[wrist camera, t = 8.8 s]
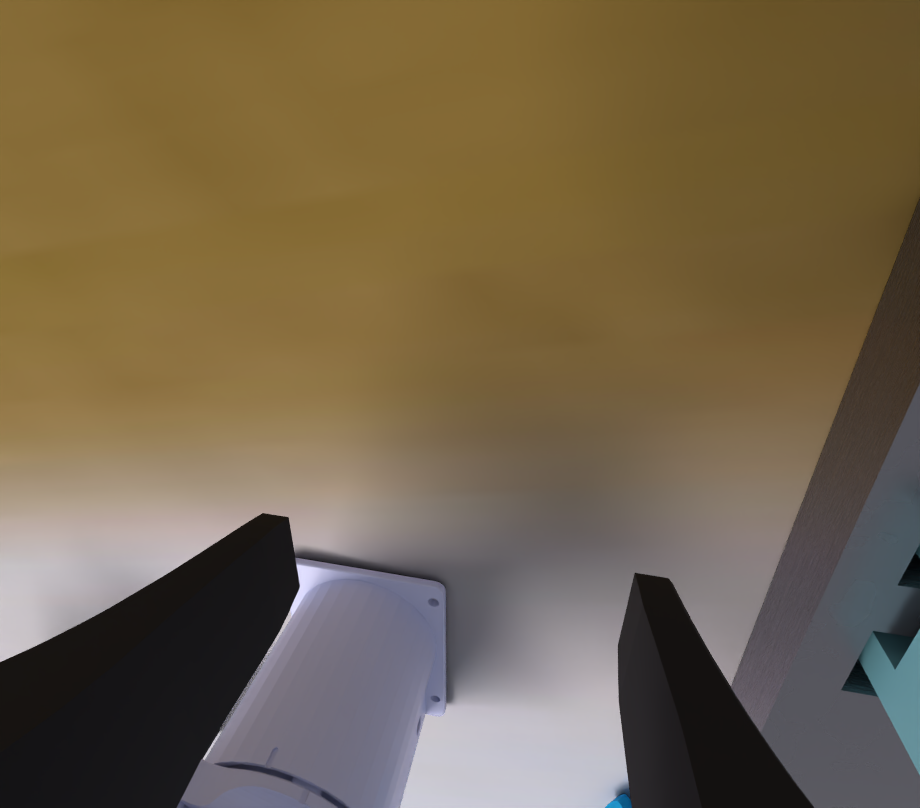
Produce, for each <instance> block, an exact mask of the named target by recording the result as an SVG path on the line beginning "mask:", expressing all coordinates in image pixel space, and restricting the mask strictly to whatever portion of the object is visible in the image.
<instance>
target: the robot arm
mask: <svg viewBox="0 0 920 808" xmlns="http://www.w3.org/2000/svg"><path fill="white" fill-rule="evenodd" d="M434 599H436V600H434ZM290 610H291V615H292V617H291V619H290V621H289V622H288V624H287V626H286V627H285V629H284V631H283V632H282V634H281V636H280V637H279V639H278V640H277V642H276V644H275V645H274V647H273V649H272V650H271V652H270V654H269V655H268V657H267V659H266V660H265V662H264V664H263V665H262V667H261V668H260V670H259V672H258V673H257V675H256V677H255V678H254V680H253V682H252V683H251V685H250V687H249V688H248V690H247V692H246V693H245V695H244V697H243V698H242V700H241V701H240V703H239V705H238V706H237V708H236V710H235V711H234V713H233V715H232V716H231V718H230V720H229V721H228V723H227V725H226V726H225V728H224V729H223V731H222V733H221V734H220V736H219V738H218V739H217V741H216V743H215V744H214V746H213V748H212V749H211V751H210V753H209V754H208V756H207V757H206V759H205V760H203V759H202V757H203V756H204V754H205V752H206V750H207V749H208V747H209V745H210V744H211V742H212V740H213V738H214V737H215V735H216V733H217V732H218V730H219V728H220V727H221V725H222V724H223V722H224V720H225V719H226V717H227V716H228V714H229V712H230V711H231V709H232V708H233V706H234V704H235V703H236V701H237V700H238V698H239V696H240V695H241V693H242V692H243V690H244V688H245V687H246V685H247V684H248V682H249V680H250V679H251V677H252V676H253V674H254V672H255V671H256V669H257V668H258V666H259V664H260V663H261V661H262V659H263V658H264V656H265V655H266V653H267V651H268V650H269V648H270V646H271V645H272V643H273V641H274V640H275V638H276V636H277V635H278V633H279V631H280V629H281V627H282V625H283V623H284V621H285V619H286V617H287V615H288V613H289V611H290ZM618 685H619V706H620V715H621V723H622V732H623V740H624V748H625V756H626V765H627V773H628V781H629V789H630V797H631V805H632V808H814V806H813V805H812V804H811V802H810V801H809V800H808V798H807V797H806V796H805V794H804V793H803V792H802V790H801V789H800V788H799V786H798V785H797V784H796V782H795V781H794V780H793V778H792V777H791V776H790V774H789V773H788V771H787V770H786V769H785V767H784V766H783V764H782V763H781V762H780V760H779V759H778V757H777V756H776V755H775V753H774V752H773V750H772V749H771V747H770V746H769V744H768V743H767V742H766V740H765V739H764V737H763V736H762V734H761V733H760V731H759V730H758V728H757V727H756V725H755V724H754V722H753V721H752V719H751V718H750V716H749V715H748V713H747V712H746V710H745V709H744V707H743V706H742V704H741V702H740V701H739V699H738V698H737V696H736V695H735V693H734V691H733V690H732V688H731V687H730V685H729V683H728V682H727V680H726V678H725V677H724V675H723V673H722V672H721V670H720V669H719V667H718V665H717V664H716V662H715V660H714V659H713V657H712V655H711V654H710V652H709V650H708V648H707V647H706V645H705V643H704V641H703V640H702V638H701V636H700V634H699V633H698V631H697V629H696V627H695V625H694V624H693V622H692V620H691V618H690V616H689V614H688V612H687V610H686V609H685V607H684V605H683V603H682V601H681V599H680V597H679V595H678V593H677V591H676V589H675V587H674V585H673V583H672V582H671V581H670V580H669V579H668V578H663V577H657V576H651V575H645V574H638V573H635V574H634V579H633V583H632V587H631V592H630V596H629V600H628V605H627V609H626V613H625V617H624V622H623V626H622V630H621V635H620V639H619V643H618ZM445 710H446V590H445V587H444V586H443V585H442V584H441V583H439V582H437V581H432V580H426V579H420V578H414V577H408V576H402V575H396V574H390V573H384V572H378V571H372V570H366V569H360V568H354V567H348V566H342V565H336V564H331V563H325V562H319V561H313V560H307V559H301V558H295V553H294V547H293V541H292V535H291V529H290V523H289V518H288V517H283V516H277V515H271V514H264V513H262V514H261V515H259V516H257V517H256V518H254V519H252V520H251V521H249V522H248V523H246V524H244V525H243V526H241V527H240V528H238V529H237V530H235V531H233V532H232V533H230V534H229V535H227V536H226V537H224V538H223V539H221V540H220V541H218V542H217V543H215V544H213V545H212V546H210V547H209V548H207V549H206V550H204V551H203V552H201V553H199V554H198V555H196V556H195V557H193V558H192V559H190V560H188V561H187V562H185V563H184V564H182V565H181V566H179V567H178V568H176V569H174V570H173V571H171V572H170V573H168V574H166V575H165V576H163V577H161V578H160V579H158V580H156V581H155V582H153V583H151V584H150V585H148V586H146V587H145V588H143V589H141V590H139V591H138V592H136V593H134V594H133V595H131V596H129V597H128V598H126V599H124V600H123V601H121V602H119V603H117V604H116V605H114V606H112V607H111V608H109V609H107V610H105V611H103V612H102V613H100V614H98V615H96V616H94V617H92V618H90V619H89V620H87V621H85V622H83V623H81V624H79V625H77V626H75V627H73V628H71V629H69V630H67V631H65V632H63V633H61V634H59V635H57V636H55V637H53V638H51V639H50V640H48V641H45V642H43V643H41V644H39V645H37V646H35V647H33V648H31V649H29V650H26V651H24V652H22V653H20V654H17V655H15V656H13V657H11V658H9V659H6V660H4V661H2V662H0V808H400V805H401V801H402V798H403V794H404V790H405V787H406V783H407V779H408V776H409V772H410V768H411V765H412V761H413V757H414V754H415V750H416V746H417V743H418V739H419V735H420V732H421V728H422V724H423V721H424V717H425V714H428V715H433V716H442V715H444V713H445Z"/></svg>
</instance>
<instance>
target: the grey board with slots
mask: <svg viewBox="0 0 920 808" xmlns="http://www.w3.org/2000/svg"><path fill="white" fill-rule="evenodd" d="M919 544H920V199H919V202H918V204H917V207H916V210H915V212H914V215H913V217H912V220H911V223H910V225H909V228H908V230H907V233H906V235H905V238H904V241H903V243H902V246H901V248H900V251H899V254H898V256H897V259H896V261H895V264H894V267H893V269H892V272H891V274H890V277H889V280H888V282H887V285H886V287H885V290H884V292H883V295H882V298H881V300H880V303H879V305H878V308H877V311H876V313H875V316H874V318H873V321H872V324H871V326H870V329H869V331H868V334H867V336H866V339H865V342H864V344H863V347H862V349H861V352H860V355H859V357H858V360H857V362H856V365H855V368H854V370H853V373H852V375H851V378H850V380H849V383H848V386H847V388H846V391H845V393H844V396H843V399H842V401H841V404H840V406H839V409H838V412H837V414H836V417H835V419H834V422H833V424H832V427H831V430H830V432H829V435H828V437H827V440H826V443H825V445H824V448H823V450H822V453H821V456H820V458H819V461H818V463H817V466H816V468H815V471H814V474H813V476H812V479H811V481H810V484H809V487H808V489H807V492H806V494H805V497H804V500H803V502H802V505H801V507H800V510H799V513H798V515H797V518H796V520H795V523H794V525H793V528H792V531H791V533H790V536H789V538H788V541H787V544H786V546H785V549H784V551H783V554H782V557H781V559H780V562H779V564H778V567H777V569H776V572H775V575H774V577H773V580H772V582H771V585H770V588H769V590H768V593H767V595H766V598H765V601H764V603H763V606H762V608H761V611H760V613H759V616H758V619H757V621H756V624H755V626H754V629H753V632H752V634H751V637H750V639H749V642H748V645H747V647H746V650H745V652H744V655H743V657H742V660H741V663H740V665H739V668H738V670H737V673H736V676H735V678H734V681H733V683H732V686H731V688H732V690H733V691H734V693H735V695H736V696H737V698H738V699H739V701H740V702H741V704H742V706H743V707H744V709H745V710H746V712H747V713H748V715H749V716H750V718H751V719H752V721H753V722H754V724H755V725H756V727H757V728H758V730H759V731H760V733H761V734H762V736H763V737H764V739H765V740H766V742H767V743H768V744H769V746H770V747H771V749H772V750H773V752H774V753H775V755H776V756H777V757H778V759H779V760H780V762H781V763H782V764H783V766H784V767H785V769H786V770H787V771H788V773H789V774H790V776H791V777H792V778H793V780H794V781H795V782H796V784H797V785H798V786H799V788H800V789H801V790H802V792H803V793H804V794H805V796H806V797H807V798H808V800H809V801H810V802H811V804H812V805H813V806H814V808H920V775H919V773H918V771H917V769H916V767H915V765H914V764H913V762H912V760H911V758H910V756H909V754H908V752H907V750H906V748H905V746H904V745H903V743H902V741H901V739H900V737H899V735H898V733H897V731H896V729H895V728H894V726H893V724H892V722H891V720H890V718H889V716H888V714H887V712H886V710H885V709H884V707H883V705H882V703H881V701H880V699H879V697H878V695H877V693H876V691H875V690H874V688H873V686H872V684H871V682H870V680H869V678H868V676H867V674H866V672H865V671H864V669H863V667H862V665H861V663H860V661H859V659H858V658H859V656H860V654H861V652H862V650H863V648H864V646H865V645H866V643H867V641H868V639H869V637H870V635H871V633H872V632H873V631H877V632H884V633H890V634H896V635H902V636H908V637H915V636H916V634H917V633H918V631H919V629H920V558H919V556H918V555H917V554H916V553H915V552H916V550H917V548H918V546H919Z"/></svg>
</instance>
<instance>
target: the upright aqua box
mask: <svg viewBox="0 0 920 808" xmlns="http://www.w3.org/2000/svg"><path fill="white" fill-rule="evenodd" d="M915 553H916V554H917V555H918V556H919V558H920V544H919V546H918V548H917V550H916V552H915ZM858 659H859V661H860V663H861V665H862V667H863V669H864V671H865V672H866V674H867V676H868V678H869V680H870V682H871V684H872V686H873V688H874V690H875V691H876V693H877V695H878V697H879V699H880V701H881V703H882V705H883V707H884V709H885V710H886V712H887V714H888V716H889V718H890V720H891V722H892V724H893V726H894V728H895V729H896V731H897V733H898V735H899V737H900V739H901V741H902V743H903V745H904V746H905V748H906V750H907V752H908V754H909V756H910V758H911V760H912V762H913V764H914V765H915V767H916V769H917V771H918V773H919V775H920V629H919V631H918V633H917V634H916V636H915V637H908V636H902V635H896V634H890V633H884V632H877V631H873V632H872V633H871V635H870V637H869V639H868V641H867V643H866V645H865V646H864V648H863V650H862V652H861V654H860V656H859V658H858Z"/></svg>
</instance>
